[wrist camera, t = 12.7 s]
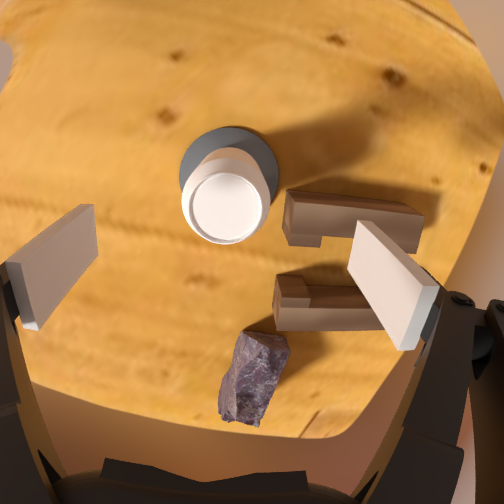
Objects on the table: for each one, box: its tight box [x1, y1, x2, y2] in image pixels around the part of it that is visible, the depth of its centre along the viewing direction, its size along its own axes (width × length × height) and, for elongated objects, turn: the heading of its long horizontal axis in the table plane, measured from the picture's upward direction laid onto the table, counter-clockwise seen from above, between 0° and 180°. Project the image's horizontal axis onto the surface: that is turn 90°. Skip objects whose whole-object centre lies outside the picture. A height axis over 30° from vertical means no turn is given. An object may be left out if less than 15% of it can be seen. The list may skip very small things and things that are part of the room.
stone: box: [218, 331, 290, 427], centre depth 38 cm, size 10×6×15 cm
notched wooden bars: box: [272, 190, 425, 331], centre depth 34 cm, size 14×14×5 cm
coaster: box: [179, 128, 279, 202], centre depth 32 cm, size 10×10×1 cm
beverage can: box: [182, 147, 270, 244], centre depth 26 cm, size 6×6×12 cm
